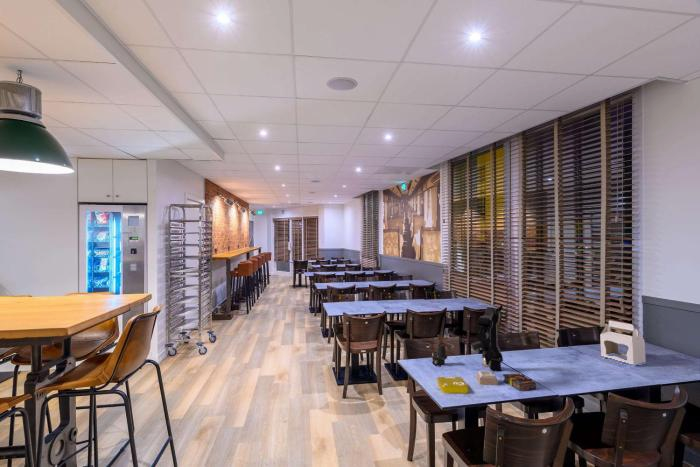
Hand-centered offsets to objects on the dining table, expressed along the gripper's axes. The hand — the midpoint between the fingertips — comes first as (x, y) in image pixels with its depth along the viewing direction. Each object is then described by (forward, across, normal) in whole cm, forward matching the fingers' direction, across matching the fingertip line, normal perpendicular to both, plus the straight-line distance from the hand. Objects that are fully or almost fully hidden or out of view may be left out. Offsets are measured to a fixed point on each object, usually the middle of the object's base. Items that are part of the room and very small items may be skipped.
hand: (486, 363), depth 207 cm
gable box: (+12, -53, +109) cm, 121 cm away
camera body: (+11, 0, 0) cm, 11 cm away
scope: (+12, -30, -24) cm, 40 cm away
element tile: (+12, +12, -22) cm, 28 cm away
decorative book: (+12, +3, +18) cm, 22 cm away
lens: (+2, 0, 0) cm, 2 cm away
